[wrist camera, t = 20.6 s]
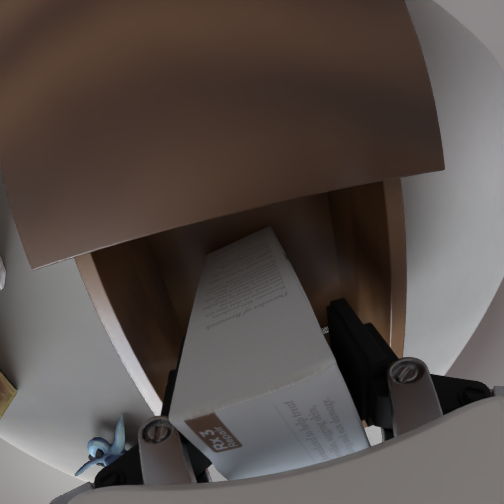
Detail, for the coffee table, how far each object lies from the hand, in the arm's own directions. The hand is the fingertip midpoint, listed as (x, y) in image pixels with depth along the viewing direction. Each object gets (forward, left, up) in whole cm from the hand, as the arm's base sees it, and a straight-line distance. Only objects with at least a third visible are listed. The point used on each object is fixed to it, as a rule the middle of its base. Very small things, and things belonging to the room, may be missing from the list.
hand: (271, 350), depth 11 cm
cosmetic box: (0, 0, -7) cm, 7 cm away
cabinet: (0, -14, -9) cm, 16 cm away
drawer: (0, +2, -8) cm, 8 cm away
